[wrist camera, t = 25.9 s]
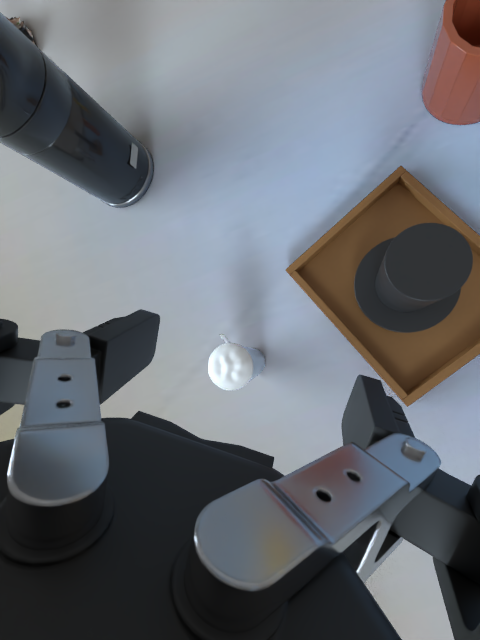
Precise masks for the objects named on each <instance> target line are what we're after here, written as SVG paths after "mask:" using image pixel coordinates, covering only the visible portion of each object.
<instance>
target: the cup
mask: <svg viewBox="0 0 480 640" xmlns="http://www.w3.org/2000/svg"><path fill="white" fill-rule="evenodd" d="M422 98H423V102H424V105H425V106H426V108H427V110H428V111H429V112H430V113H431V114H432V115H433V116H434V117H435V118H437V119H438V120H440V121H442V122H445V123H449V124H454V125H467V124H473V123H477V122H480V0H446V2H445V4H444V7H443V10H442V14H441V18H440V21H439V25H438V28H437V32H436V35H435V39H434V43H433V46H432V50H431V53H430V57H429V60H428V64H427V68H426V71H425V75H424V78H423V85H422Z"/></svg>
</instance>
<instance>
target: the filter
mask: <svg viewBox="0 0 480 640" xmlns="http://www.w3.org/2000/svg"><path fill="white" fill-rule="evenodd" d="M472 265H473V255H472V251H471V248H470V245H469V243H468V242H467V240H466V239H465V238H464V237H463V236H462V234H460V233H459V232H458V231H457V230H455V229H453V228H451V227H449V226H447V225H443V224H439V223H422V224H417V225H414V226H411V227H409V228H407V229H405V230H404V231H402V232H401V233H399V234H398V235H397V236H396V237H394V238H391V239H388V240H386V241H383V242H381V243H380V244H378V245H376V246H375V247H374V248H372V249H371V250H370V251H369V252H368V253H367V254H366V255H365V256H364V258H363V259H362V261H361V262H360V264H359V266H358V268H357V271H356V274H355V279H354V292H355V297H356V301H357V303H358V305H359V307H360V309H361V310H362V312H363V313H364V314H365V316H366V317H367V318H368V319H370V320H371V321H372V322H373V323H375V324H376V325H378V326H380V327H382V328H384V329H387V330H390V331H394V332H400V333H411V332H418V331H423V330H426V329H428V328H431V327H433V326H435V325H437V324H438V323H440V322H441V321H442V320H444V319H445V318H446V317H447V316H448V315H449V314H450V313H451V311H452V310H453V309H454V307H455V306H456V304H457V301H458V299H459V296H460V293H461V287H462V286H463V285H464V284H465V282H466V281H467V279H468V278H469V275H470V273H471V270H472Z"/></svg>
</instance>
